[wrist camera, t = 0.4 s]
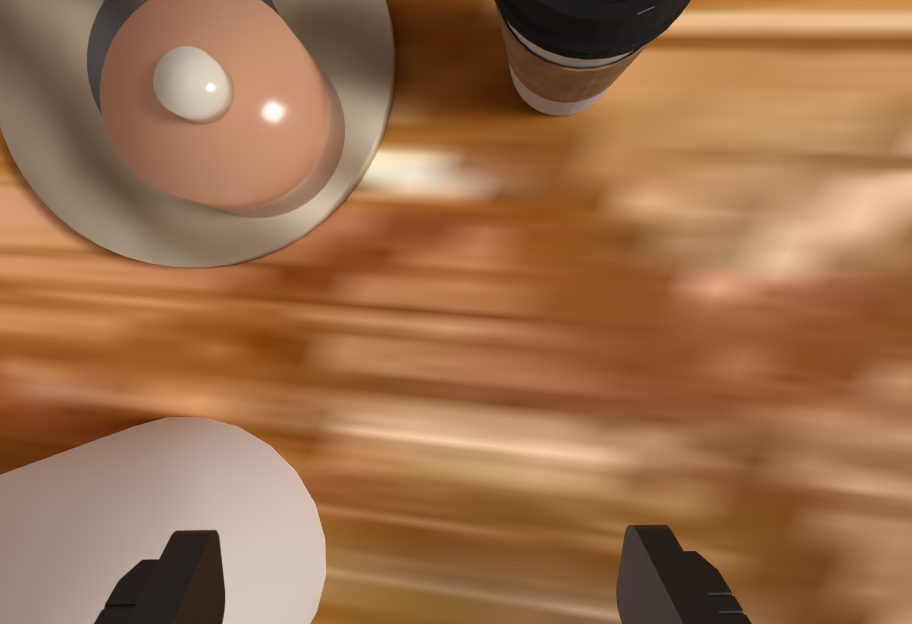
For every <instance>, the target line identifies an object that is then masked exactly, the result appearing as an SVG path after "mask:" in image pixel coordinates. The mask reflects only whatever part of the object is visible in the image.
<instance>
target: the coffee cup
mask: <svg viewBox="0 0 912 624" xmlns="http://www.w3.org/2000/svg"><path fill="white" fill-rule="evenodd" d="M689 2H690V0H495V3H496V7H497V12H498V16H499V21H500V25H501V30H502V34H503V39H504V43H505V47H506V52H507V56H508V60H509V67H510V72H511V76H512V80H513V83H514V86H515V88H516V90H517V92H518V93H519V95H520V96H521V97H522V99H523V100H524V101H525V102H526V103H527V104H529V105H530V106H531V107H532V108H534V109H536V110H538V111H539V112H542V113H545V114H548V115H555V116H566V115H572V114H576V113H579V112H581V111H583V110H585V109H587V108H589V107H590V106H591V105H593V104H594V103H595V102H596V101H597V100H598V99H599V98H600V97H601V96H602V95H603V94H604V93H605V92H606V90H607V89H608V88H609V87H610V86H611V84H612V83H613V82H614V81H615V80H616V79H617V78H618V77H619V76H620V75H621V74H622V72H623V71H624V70H625V69H626V68H627V67H628V66H629V65H630V64H631V63H632V62H633V61H634V59H635V58H636V57H637V56H638V55H639V54H640V53H641V52H642V51H643V50H644V49H645V47H646V46H647V45H648V44H649V43H650V42H651V41H652V40H653V39H655V38H656V37H657V36H659V35H660V34H661V33H663V32H664V31H665V30H667V29H668V28H669V26H670V25H671V24H672V23H673V22H674V21H675V20H676V19H677V18H678V17H679V15H680V14H681V13H682V12H683V10H684V9H685V8H686V6H687V5H688V3H689Z"/></svg>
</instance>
